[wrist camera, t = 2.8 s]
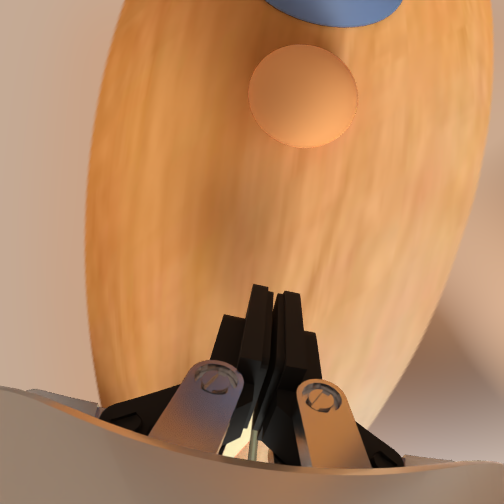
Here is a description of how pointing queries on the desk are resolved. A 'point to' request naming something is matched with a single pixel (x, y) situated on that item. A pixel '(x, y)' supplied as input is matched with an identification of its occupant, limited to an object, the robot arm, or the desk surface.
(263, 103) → the ball
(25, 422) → the robot arm
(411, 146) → the desk surface
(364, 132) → the desk surface
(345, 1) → the mark
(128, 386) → the desk surface
